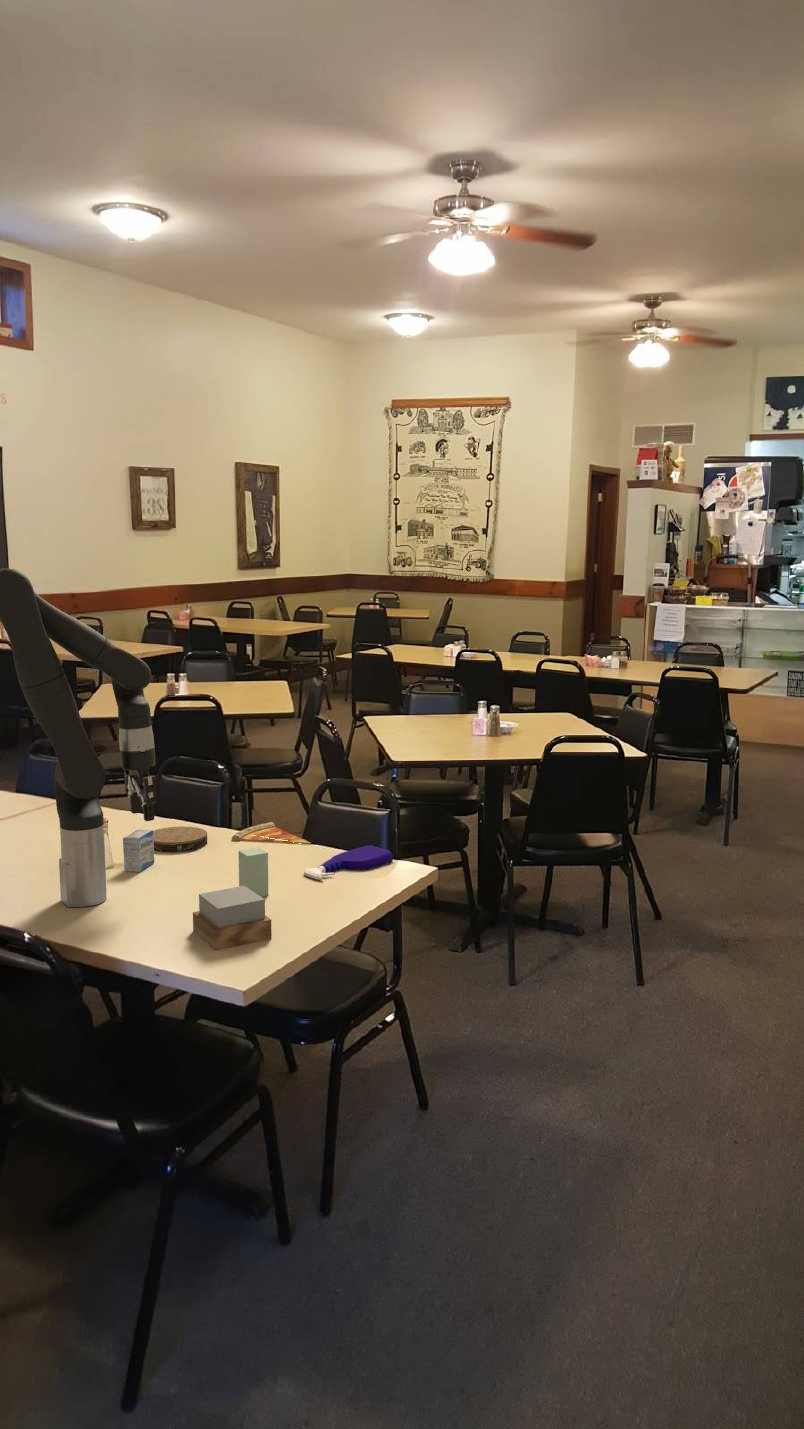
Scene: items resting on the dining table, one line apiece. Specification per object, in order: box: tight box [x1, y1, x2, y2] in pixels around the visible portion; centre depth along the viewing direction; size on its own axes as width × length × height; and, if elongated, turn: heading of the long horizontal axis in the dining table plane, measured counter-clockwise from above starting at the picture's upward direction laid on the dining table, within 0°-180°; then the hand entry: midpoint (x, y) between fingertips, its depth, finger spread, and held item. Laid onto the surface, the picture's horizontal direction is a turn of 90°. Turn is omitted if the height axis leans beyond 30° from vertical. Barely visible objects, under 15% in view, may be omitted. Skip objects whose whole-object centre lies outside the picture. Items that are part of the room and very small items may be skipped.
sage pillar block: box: [238, 847, 269, 898], centre depth 229 cm, size 5×5×10 cm
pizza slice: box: [231, 821, 312, 845], centre depth 274 cm, size 16×22×2 cm
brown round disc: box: [153, 826, 208, 854], centre depth 269 cm, size 16×16×3 cm
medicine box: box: [122, 828, 155, 873], centre depth 248 cm, size 8×4×9 cm, turn 168°
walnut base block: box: [192, 910, 273, 951], centre depth 204 cm, size 12×12×4 cm
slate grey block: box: [198, 886, 266, 928], centre depth 204 cm, size 10×10×4 cm
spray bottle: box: [303, 844, 394, 882], centre depth 250 cm, size 3×11×24 cm
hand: (142, 816), depth 228 cm, fingers open, 8 cm apart
